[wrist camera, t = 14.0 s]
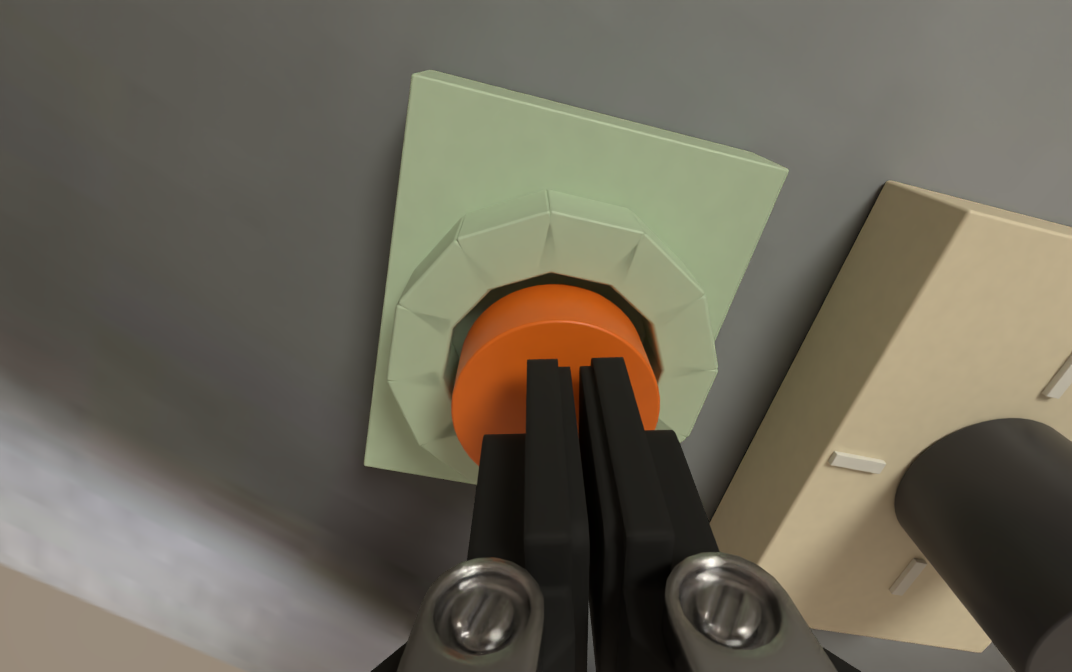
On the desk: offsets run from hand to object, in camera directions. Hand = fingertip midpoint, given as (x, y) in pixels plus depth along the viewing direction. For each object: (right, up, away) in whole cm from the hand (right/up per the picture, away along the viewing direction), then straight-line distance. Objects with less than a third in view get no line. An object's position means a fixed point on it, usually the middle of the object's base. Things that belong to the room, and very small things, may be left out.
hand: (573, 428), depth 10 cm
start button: (0, +1, +2) cm, 2 cm away
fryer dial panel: (+11, -1, +7) cm, 13 cm away
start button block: (0, +3, +5) cm, 6 cm away
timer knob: (+11, -2, +5) cm, 12 cm away
